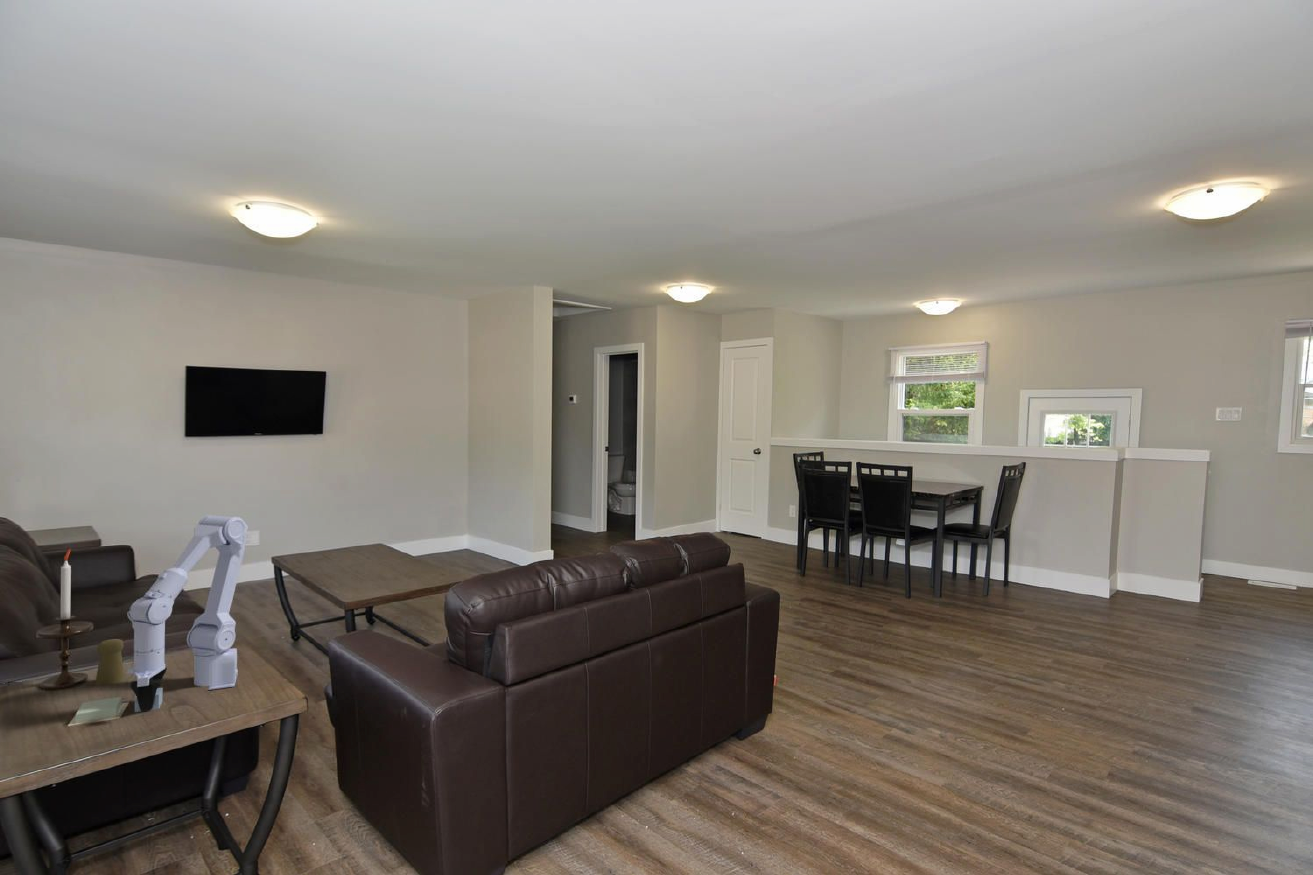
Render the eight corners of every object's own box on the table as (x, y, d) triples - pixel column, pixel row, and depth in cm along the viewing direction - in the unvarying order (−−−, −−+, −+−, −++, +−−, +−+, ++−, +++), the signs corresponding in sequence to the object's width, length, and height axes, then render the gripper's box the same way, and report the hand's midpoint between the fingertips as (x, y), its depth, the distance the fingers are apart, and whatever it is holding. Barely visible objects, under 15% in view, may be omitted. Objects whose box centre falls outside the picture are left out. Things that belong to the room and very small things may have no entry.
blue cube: (162, 705, 156) (162, 687, 156) (158, 713, 152) (159, 694, 152) (138, 709, 153) (138, 690, 153) (134, 717, 150) (134, 697, 149)
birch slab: (128, 710, 154) (128, 702, 154) (119, 726, 147) (119, 717, 146) (79, 717, 150) (79, 709, 150) (67, 734, 142) (67, 725, 142)
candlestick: (98, 672, 174) (99, 543, 174) (84, 687, 165) (86, 551, 164) (45, 678, 170) (46, 546, 169) (28, 694, 160) (29, 554, 159)
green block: (121, 704, 153) (121, 696, 153) (116, 716, 147) (116, 707, 147) (82, 711, 149) (82, 702, 149) (75, 723, 143) (75, 714, 143)
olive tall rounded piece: (129, 680, 170) (129, 639, 169) (100, 688, 164) (100, 645, 164) (120, 675, 173) (120, 634, 173) (91, 682, 168) (91, 640, 167)
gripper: (134, 641, 157) (134, 696, 157) (120, 661, 144) (119, 721, 144) (170, 637, 160) (170, 691, 160) (159, 656, 147) (159, 715, 148)
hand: (148, 705), depth 153 cm, fingers closed on blue cube, 4 cm apart
